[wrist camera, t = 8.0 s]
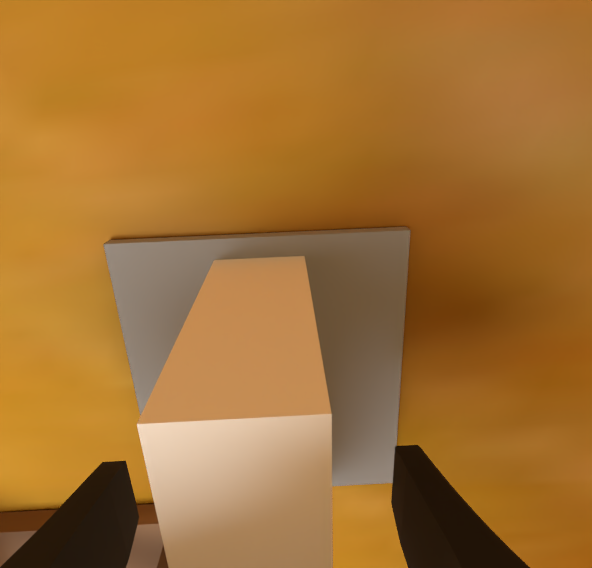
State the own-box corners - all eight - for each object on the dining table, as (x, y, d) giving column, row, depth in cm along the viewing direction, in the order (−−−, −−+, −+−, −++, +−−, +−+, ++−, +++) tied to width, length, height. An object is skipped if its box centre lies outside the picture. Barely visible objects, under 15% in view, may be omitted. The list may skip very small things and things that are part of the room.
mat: (391, 473, 18) (394, 482, 18) (161, 486, 18) (157, 495, 18) (406, 226, 14) (410, 230, 14) (109, 240, 14) (103, 244, 14)
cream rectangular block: (311, 482, 18) (333, 748, 10) (240, 486, 18) (210, 756, 10) (304, 255, 14) (331, 413, 6) (214, 259, 14) (136, 424, 6)
